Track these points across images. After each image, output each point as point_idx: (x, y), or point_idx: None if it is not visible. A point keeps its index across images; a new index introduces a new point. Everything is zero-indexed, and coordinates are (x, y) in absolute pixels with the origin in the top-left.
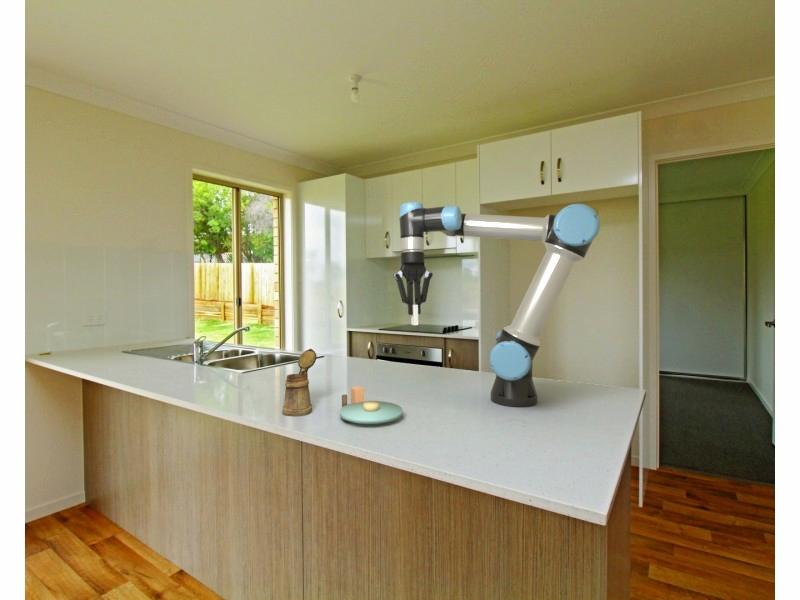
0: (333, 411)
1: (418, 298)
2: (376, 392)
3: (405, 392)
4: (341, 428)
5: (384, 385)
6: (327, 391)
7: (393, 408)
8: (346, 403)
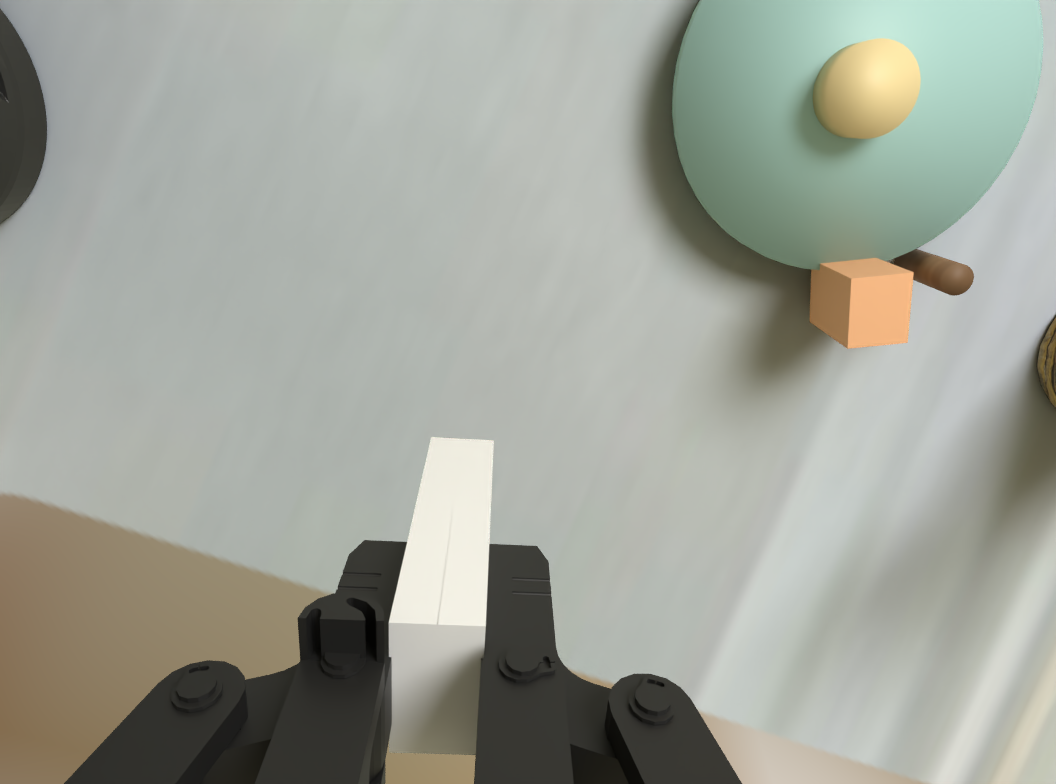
0: None
1: (333, 740)
2: (610, 534)
3: None
4: None
5: None
6: (830, 629)
7: (731, 61)
8: (927, 257)
